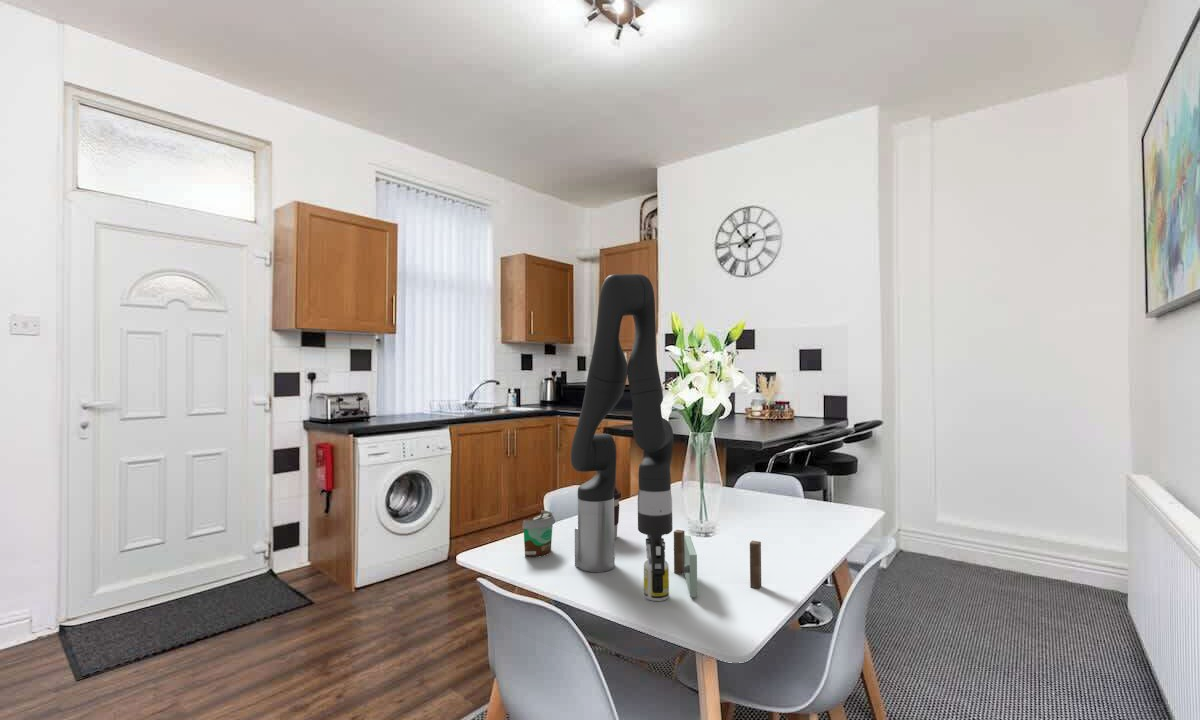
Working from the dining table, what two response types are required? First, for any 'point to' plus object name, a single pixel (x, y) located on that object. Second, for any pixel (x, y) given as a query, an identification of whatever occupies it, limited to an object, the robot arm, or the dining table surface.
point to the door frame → (754, 558)
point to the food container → (538, 534)
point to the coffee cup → (616, 510)
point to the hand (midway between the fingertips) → (655, 585)
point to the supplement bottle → (648, 582)
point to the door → (690, 566)
